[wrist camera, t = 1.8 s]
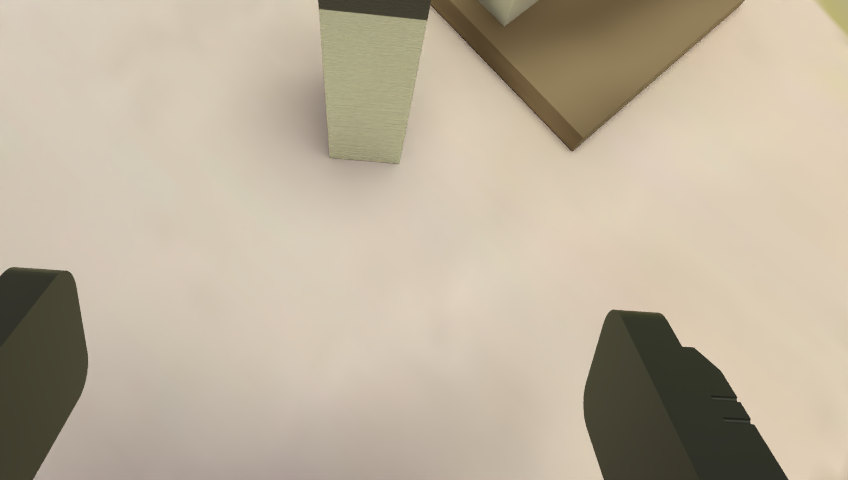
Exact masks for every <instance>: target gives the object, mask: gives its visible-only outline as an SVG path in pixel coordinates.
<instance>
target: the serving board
mask: <svg viewBox="0 0 848 480" xmlns="http://www.w3.org/2000/svg"><path fill="white" fill-rule="evenodd" d="M743 2H744V0H538V1H537V2H536V3H534V4H533V5H532V6H530V7H529V8H528V9H527V10H525V11H524V12H523V13H521V14H520V15H519V16H518V17H516V18H515V19H514V20H512V21H511V22H510V23H509V24H507V25H506V26H505V27H504V26H503V25H502V24H501V23H500V22H499V21H498V20H497V19H496V18H495V17H494V16H493V15H492V14H491V13H490V12H489V11H488V10H487V9H486V8H485V7H484V6H483V5H482V4H481V3H480V2H479V1H478V0H431V3H430V4H431V5H432V6H433V7H434V8H435V9H436V10H437V11H438V12H439V13H440V15H441V16H442V17H443V18H444V19H445V20H446V21H447V22H448V23H449V24H450V25H451V26H452V27H453V28H454V29H455V30H456V31H457V32H458V33H459V34H460V35H461V36H462V37H463V38H464V39H465V40H466V41H467V43H468V44H469V45H470V46H471V47H472V48H473V49H474V50H475V51H476V52H477V53H478V54H479V55H480V56H481V57H482V58H483V59H484V60H485V61H486V62H487V63H488V64H489V65H490V66H491V67H492V68H493V69H494V70H495V72H496V73H497V74H498V75H499V76H500V77H501V78H502V79H503V80H504V81H505V82H506V83H507V84H508V85H509V86H510V87H511V88H512V89H513V90H514V91H515V92H516V93H517V94H518V95H519V96H520V97H521V98H522V100H523V101H524V102H525V103H526V104H527V105H528V106H529V107H530V108H531V109H532V110H533V111H534V112H535V113H536V114H537V115H538V116H539V117H540V118H541V119H542V120H543V121H544V122H545V123H546V124H547V125H548V126H549V128H550V129H551V130H552V131H553V132H554V133H555V134H556V135H557V136H558V137H559V138H560V139H561V140H562V141H563V142H564V143H565V144H566V145H567V146H568V147H569V148H570V149H571V150H572V151H573V150H574V149H576V148H577V147H578V146H579V145H580V144H581V143H582V142H584V141H585V140H586V139H587V138H588V137H589V136H590V135H592V134H593V133H594V132H595V131H596V130H597V129H598V128H600V127H601V126H602V125H603V124H604V123H605V122H607V121H608V120H609V119H610V118H611V117H612V116H613V115H615V114H616V113H617V112H618V111H619V110H620V109H621V108H623V107H624V106H625V105H626V104H627V103H628V102H630V101H631V100H632V99H633V98H634V97H635V96H636V95H638V94H639V93H640V92H641V91H642V90H643V89H644V88H646V87H647V86H648V85H649V84H650V83H651V82H652V81H654V80H655V79H656V78H657V77H658V76H659V75H661V74H662V73H663V72H664V71H665V70H666V69H667V68H669V67H670V66H671V65H672V64H673V63H674V62H675V61H677V60H678V59H679V58H680V57H681V56H682V55H684V54H685V53H686V52H687V51H688V50H689V49H690V48H692V47H693V46H694V45H695V44H696V43H697V42H698V41H700V40H701V39H702V38H703V37H704V36H705V35H706V34H708V33H709V32H710V31H711V30H712V29H713V28H715V27H716V26H717V25H718V24H719V23H720V22H721V21H723V20H724V19H725V18H726V17H727V16H728V15H729V14H731V13H732V12H733V11H734V10H735V9H736V8H737V7H739V6H740V5H741V4H742V3H743Z"/></svg>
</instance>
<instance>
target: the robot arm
mask: <svg viewBox="0 0 848 480" xmlns="http://www.w3.org/2000/svg"><path fill="white" fill-rule="evenodd" d="M87 369H88V354H87V347H86V341H85V335H84V329H83V324H82V318H81V312H80V306H79V300H78V294H77V288H76V283H75V280H74V277H73V276H72V274H71V273H70V272H68V271H62V270H47V269H33V268H18V267H12V268H9V269H7V270H6V271H5V272H4V273H3V274H2V275H1V276H0V480H33V478H34V477H35V475H36V473H37V471H38V470H39V468H40V466H41V464H42V463H43V461H44V459H45V457H46V456H47V454H48V452H49V450H50V449H51V447H52V445H53V443H54V442H55V440H56V438H57V436H58V435H59V433H60V431H61V429H62V428H63V426H64V424H65V422H66V421H67V419H68V417H69V415H70V414H71V412H72V410H73V408H74V407H75V405H76V403H77V401H78V399H79V398H80V396H81V393H82V391H83V388H84V385H85V381H86V376H87ZM583 404H584V418H585V423H586V427H587V430H588V433H589V436H590V439H591V442H592V445H593V448H594V451H595V454H596V457H597V460H598V463H599V466H600V469H601V472H602V475H603V478H604V480H788V478H787V477H786V475H785V473H784V472H783V470H782V469H781V467H780V465H779V464H778V462H777V461H776V459H775V457H774V456H773V454H772V452H771V451H770V449H769V448H768V446H767V444H766V443H765V441H764V440H763V438H762V436H761V435H760V433H759V432H758V430H757V428H756V427H755V425H753V424H751V423H750V417H749V415H748V414H747V412H746V411H745V409H744V407H743V406H742V404H741V403H740V402H737V396H736V395H735V393H734V391H733V390H732V388H731V387H730V385H729V383H728V382H727V380H726V379H725V377H724V375H723V374H722V372H721V371H720V370H719V369H718V368H717V367H716V366H715V365H713V364H712V363H711V362H710V361H709V360H708V359H706V358H705V357H704V356H703V355H702V354H701V353H699V352H698V351H697V350H696V349H695V348H693V347H682V346H681V344H680V342H679V340H678V339H677V337H676V335H675V333H674V332H673V330H672V328H671V327H670V325H669V323H668V321H667V320H666V318H665V317H664V316H663V315H662V314H661V313H653V312H638V311H623V310H611V311H610V312H609V313H608V314H607V316H606V318H605V321H604V324H603V327H602V330H601V334H600V337H599V341H598V344H597V347H596V351H595V354H594V358H593V361H592V364H591V368H590V371H589V375H588V378H587V381H586V385H585V390H584V402H583Z"/></svg>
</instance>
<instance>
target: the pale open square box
mask: <svg viewBox="0 0 848 480" xmlns="http://www.w3.org/2000/svg"><path fill="white" fill-rule="evenodd" d="M478 1H479V2H480V3H481V4H482V5H483V6H484V7H485V8H486V9H487V10H488V11H489V12H490V13H491V14H492V15H493V16H494V17H495V18H496V19H497V20H498V21H499V22H500V23H501V24H502V25H503V26H504V27H505V26H506V25H507V24H509V23H510V22H511V21H512V20H514V19H515V18H516V17H518V16H519V15H520V14H521V13H523V12H524V11H525V10H527V9H528V8H529V7H530V6H532V5H533V4H534V3H536V2H537V1H538V0H478Z"/></svg>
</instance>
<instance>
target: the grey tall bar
mask: <svg viewBox="0 0 848 480" xmlns="http://www.w3.org/2000/svg"><path fill="white" fill-rule="evenodd" d="M318 3H319V17H320V31H321V45H322V58H323V72H324V86H325V100H326V114H327V128H328V142H329V156H330V158H339V159H351V160H362V161H374V162H386V163H397V164H399V163H400V158H401V152H402V147H403V142H404V137H405V132H406V127H407V122H408V116H409V111H410V106H411V101H412V96H413V91H414V86H415V81H416V75H417V70H418V65H419V60H420V55H421V50H422V45H423V39H424V34H425V29H426V24H427V19H428V14H429V9H430V3H431V0H318Z"/></svg>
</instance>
